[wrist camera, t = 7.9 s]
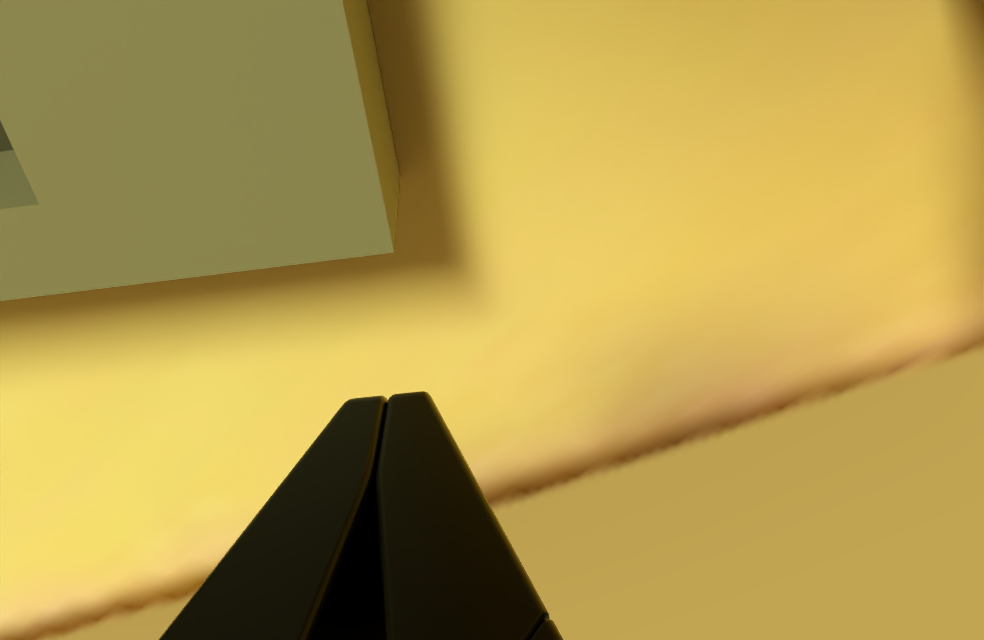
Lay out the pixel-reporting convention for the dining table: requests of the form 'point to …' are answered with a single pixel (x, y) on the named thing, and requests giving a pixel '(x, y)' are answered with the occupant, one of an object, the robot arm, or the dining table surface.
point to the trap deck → (188, 140)
